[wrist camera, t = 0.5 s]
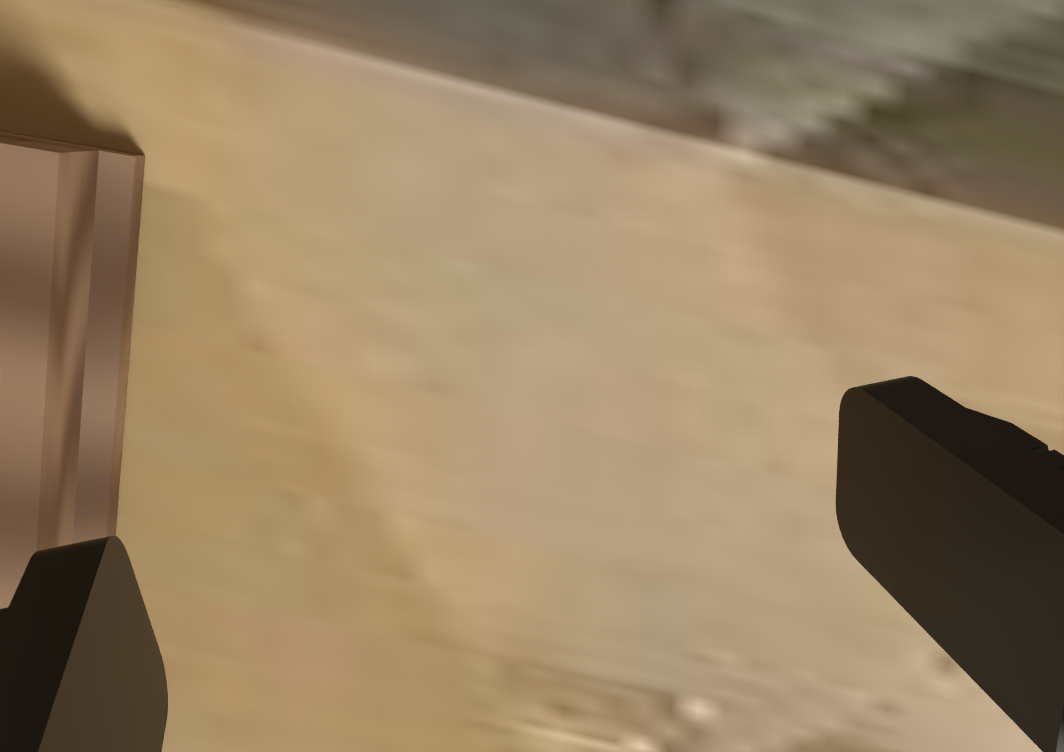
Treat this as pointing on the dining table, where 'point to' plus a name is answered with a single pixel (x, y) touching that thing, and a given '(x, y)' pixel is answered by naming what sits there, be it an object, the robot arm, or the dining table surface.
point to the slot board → (63, 341)
